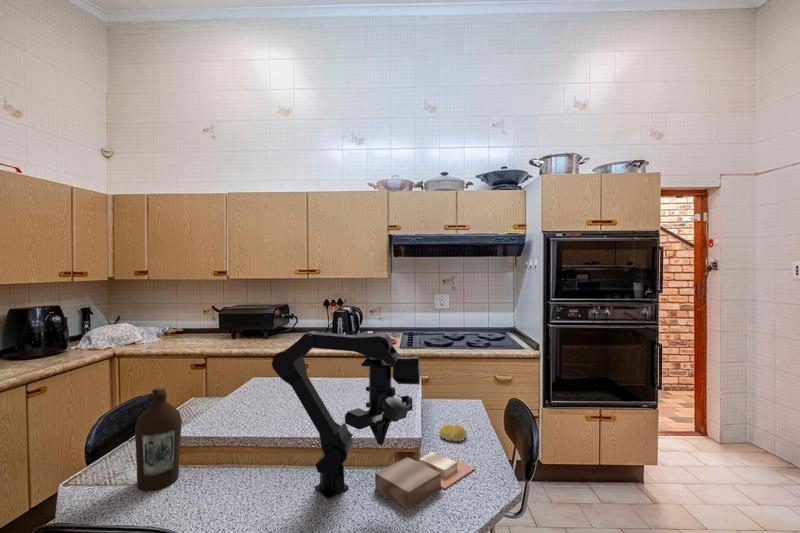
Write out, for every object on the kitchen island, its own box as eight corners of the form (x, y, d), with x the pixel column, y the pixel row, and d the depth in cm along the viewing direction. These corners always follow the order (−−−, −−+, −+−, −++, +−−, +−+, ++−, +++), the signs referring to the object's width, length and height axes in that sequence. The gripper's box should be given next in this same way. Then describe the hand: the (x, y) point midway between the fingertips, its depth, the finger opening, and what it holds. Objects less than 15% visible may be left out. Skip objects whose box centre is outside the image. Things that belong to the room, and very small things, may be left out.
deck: (375, 488, 97) (375, 473, 97) (407, 471, 105) (407, 457, 105) (408, 509, 88) (408, 492, 88) (440, 488, 97) (440, 472, 97)
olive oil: (135, 478, 102) (136, 386, 102) (180, 467, 108) (180, 380, 108) (133, 498, 93) (134, 397, 94) (182, 484, 99) (183, 389, 99)
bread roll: (442, 431, 133) (442, 419, 133) (467, 434, 130) (467, 422, 130) (436, 440, 125) (436, 428, 125) (463, 444, 122) (463, 432, 122)
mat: (405, 469, 106) (405, 468, 106) (437, 452, 116) (437, 451, 116) (444, 489, 96) (444, 488, 96) (475, 469, 106) (475, 468, 106)
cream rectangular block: (432, 451, 112) (432, 458, 112) (419, 459, 107) (419, 466, 107) (457, 461, 105) (457, 469, 105) (444, 470, 101) (444, 477, 101)
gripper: (373, 399, 84) (373, 469, 83) (427, 381, 97) (428, 442, 96) (343, 388, 91) (343, 452, 91) (397, 374, 105) (398, 430, 104)
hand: (380, 444), depth 95 cm, fingers closed
